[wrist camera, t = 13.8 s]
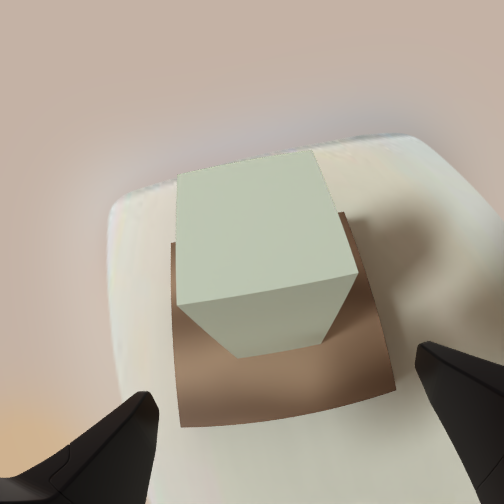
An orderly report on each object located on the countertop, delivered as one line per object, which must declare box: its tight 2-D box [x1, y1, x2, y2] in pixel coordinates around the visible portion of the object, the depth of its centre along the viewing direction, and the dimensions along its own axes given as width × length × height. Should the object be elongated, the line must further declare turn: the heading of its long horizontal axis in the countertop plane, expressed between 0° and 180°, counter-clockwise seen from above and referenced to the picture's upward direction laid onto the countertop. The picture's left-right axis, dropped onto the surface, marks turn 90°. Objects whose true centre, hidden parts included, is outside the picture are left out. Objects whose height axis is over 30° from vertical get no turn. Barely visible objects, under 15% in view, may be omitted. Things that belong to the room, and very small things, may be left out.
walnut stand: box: [171, 212, 396, 427], centre depth 18 cm, size 13×13×2 cm
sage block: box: [176, 150, 358, 359], centre depth 13 cm, size 5×5×10 cm
